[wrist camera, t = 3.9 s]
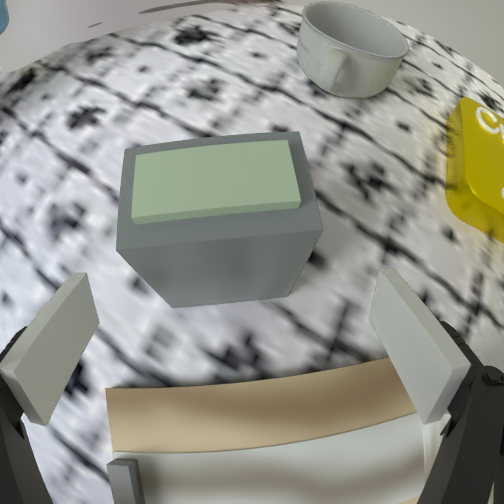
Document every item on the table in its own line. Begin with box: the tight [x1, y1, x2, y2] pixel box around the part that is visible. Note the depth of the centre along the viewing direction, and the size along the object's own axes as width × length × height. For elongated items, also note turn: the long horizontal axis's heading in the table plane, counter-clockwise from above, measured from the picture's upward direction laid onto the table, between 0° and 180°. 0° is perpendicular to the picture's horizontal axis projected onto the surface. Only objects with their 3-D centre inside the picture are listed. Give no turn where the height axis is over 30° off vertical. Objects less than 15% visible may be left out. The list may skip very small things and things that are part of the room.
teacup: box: [297, 1, 409, 98], centre depth 27 cm, size 14×11×8 cm
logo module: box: [116, 131, 323, 308], centre depth 18 cm, size 5×8×12 cm, turn 97°
